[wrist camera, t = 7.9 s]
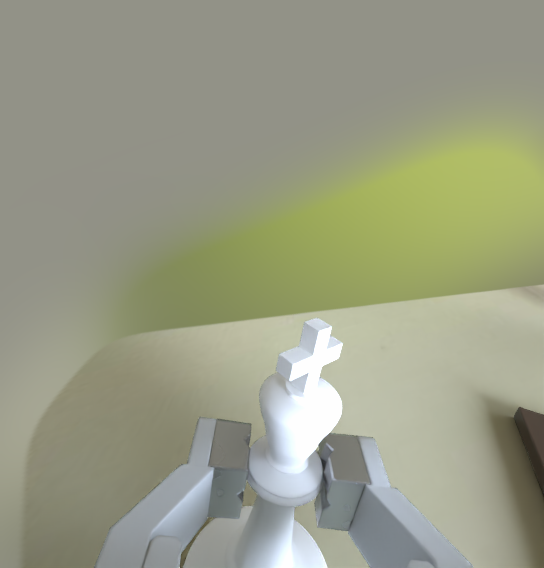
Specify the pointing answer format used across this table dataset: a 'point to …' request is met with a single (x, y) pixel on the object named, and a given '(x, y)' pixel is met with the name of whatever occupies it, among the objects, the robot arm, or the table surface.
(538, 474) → the board
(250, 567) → the chess piece
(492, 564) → the table surface
